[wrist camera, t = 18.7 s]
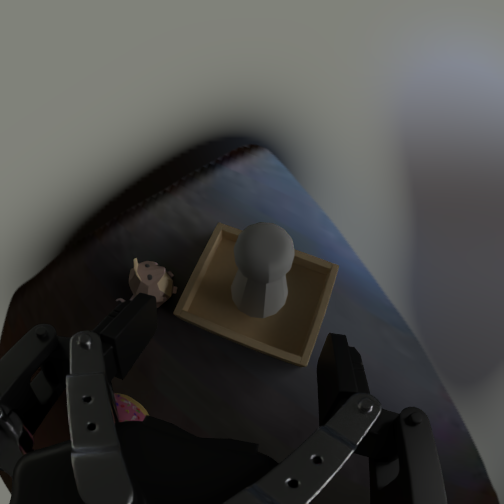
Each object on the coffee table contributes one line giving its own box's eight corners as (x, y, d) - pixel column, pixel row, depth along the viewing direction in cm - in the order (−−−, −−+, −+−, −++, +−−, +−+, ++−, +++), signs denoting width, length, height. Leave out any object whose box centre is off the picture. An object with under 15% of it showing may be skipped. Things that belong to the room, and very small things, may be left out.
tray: (178, 318, 30) (172, 313, 28) (220, 232, 34) (218, 222, 32) (301, 367, 28) (306, 366, 25) (333, 273, 32) (339, 265, 30)
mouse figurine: (113, 281, 32) (87, 261, 25) (170, 262, 33) (153, 236, 27) (120, 321, 30) (92, 307, 23) (181, 301, 31) (164, 283, 25)
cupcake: (104, 383, 26) (40, 380, 15) (171, 399, 26) (126, 411, 15) (101, 447, 23) (40, 467, 12) (167, 466, 23) (126, 507, 12)
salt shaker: (222, 304, 30) (204, 256, 18) (249, 263, 32) (249, 195, 20) (268, 332, 29) (281, 302, 17) (294, 288, 31) (321, 232, 19)
